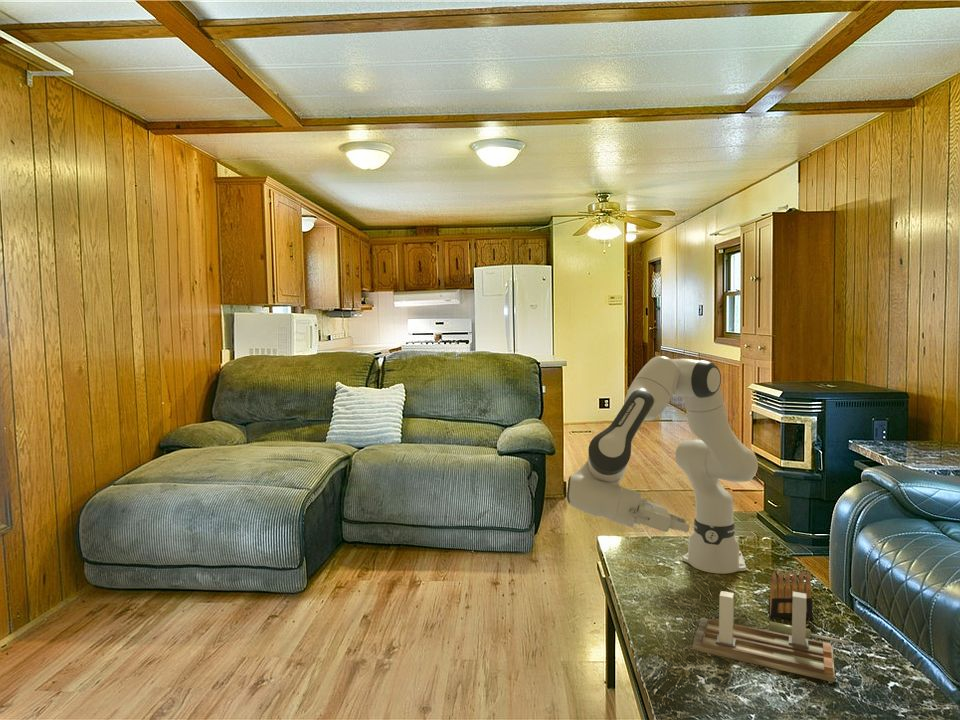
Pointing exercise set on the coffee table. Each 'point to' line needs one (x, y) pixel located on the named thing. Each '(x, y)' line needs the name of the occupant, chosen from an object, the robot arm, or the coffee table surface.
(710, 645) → the wooden double track board
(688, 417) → the robot arm
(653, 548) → the coffee table surface
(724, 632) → the beige rectangular pillar
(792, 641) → the pillar on grey base
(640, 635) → the coffee table surface
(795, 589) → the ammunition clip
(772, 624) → the screwdriver
